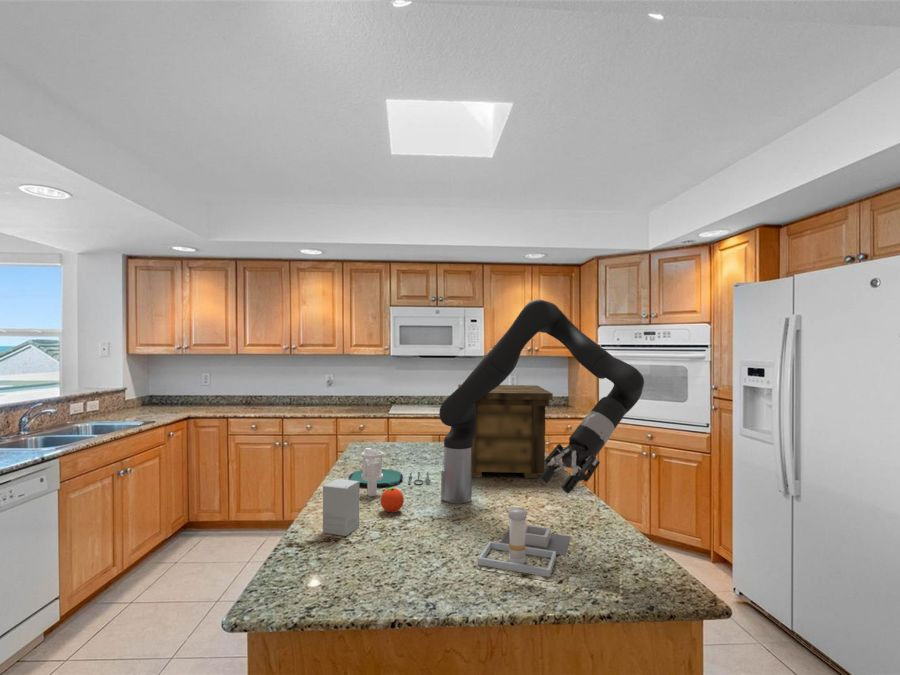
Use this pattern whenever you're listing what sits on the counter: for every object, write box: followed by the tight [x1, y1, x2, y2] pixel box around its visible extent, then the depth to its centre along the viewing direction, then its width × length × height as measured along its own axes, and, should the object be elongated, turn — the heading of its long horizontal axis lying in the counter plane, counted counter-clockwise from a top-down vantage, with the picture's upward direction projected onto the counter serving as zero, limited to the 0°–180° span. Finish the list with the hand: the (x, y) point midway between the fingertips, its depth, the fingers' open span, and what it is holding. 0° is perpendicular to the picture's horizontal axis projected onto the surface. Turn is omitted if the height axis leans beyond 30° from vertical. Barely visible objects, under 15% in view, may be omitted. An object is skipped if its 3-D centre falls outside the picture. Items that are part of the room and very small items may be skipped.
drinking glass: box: [361, 447, 384, 497], centre depth 162 cm, size 7×7×15 cm
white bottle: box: [507, 506, 527, 565], centre depth 111 cm, size 4×4×12 cm
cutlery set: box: [348, 468, 432, 487], centre depth 179 cm, size 20×30×2 cm, turn 93°
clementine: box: [380, 487, 405, 513], centre depth 146 cm, size 8×7×7 cm
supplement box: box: [322, 478, 360, 537], centre depth 131 cm, size 7×7×13 cm
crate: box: [457, 383, 554, 479], centre depth 198 cm, size 35×35×33 cm
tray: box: [477, 541, 557, 583], centre depth 111 cm, size 16×10×3 cm, turn 70°
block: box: [500, 524, 572, 556], centre depth 122 cm, size 16×12×4 cm
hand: (553, 485), depth 115 cm, fingers open, 8 cm apart
